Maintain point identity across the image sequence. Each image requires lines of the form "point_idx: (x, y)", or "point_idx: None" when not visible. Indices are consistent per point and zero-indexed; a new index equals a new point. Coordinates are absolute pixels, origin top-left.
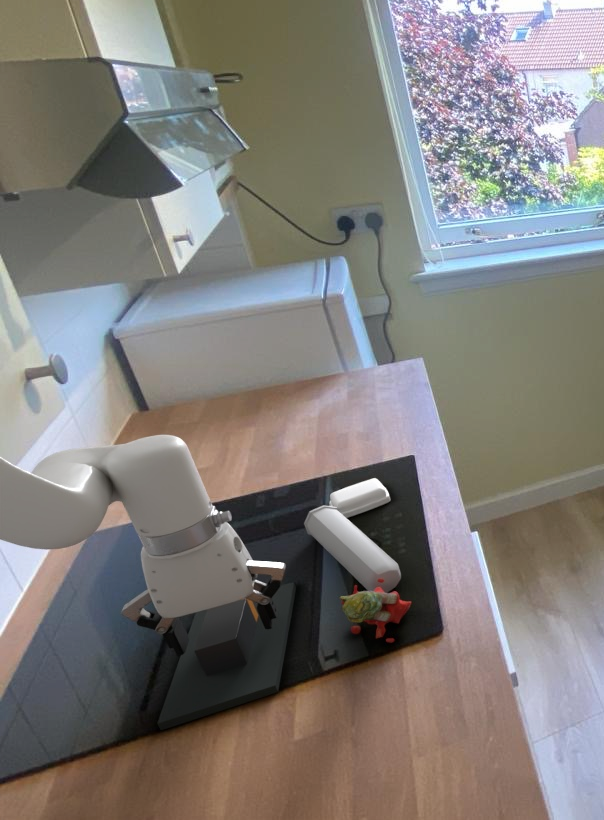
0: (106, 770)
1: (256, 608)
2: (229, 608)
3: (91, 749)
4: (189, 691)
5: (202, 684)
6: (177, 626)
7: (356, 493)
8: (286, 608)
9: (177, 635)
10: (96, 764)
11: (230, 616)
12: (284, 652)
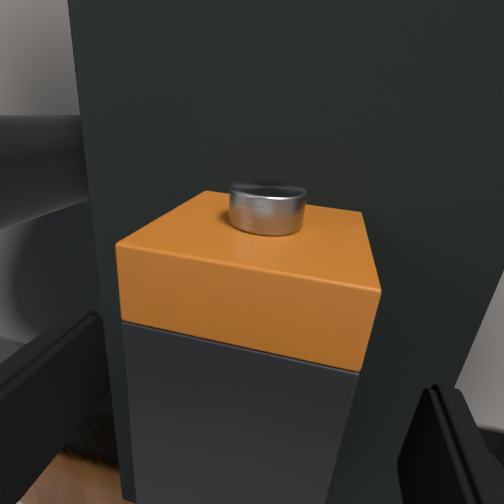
0: (73, 494)
1: (358, 134)
2: (252, 405)
3: None
4: None
5: None
6: (9, 450)
7: None
8: (501, 238)
9: (40, 457)
10: (51, 471)
11: (263, 477)
12: None
